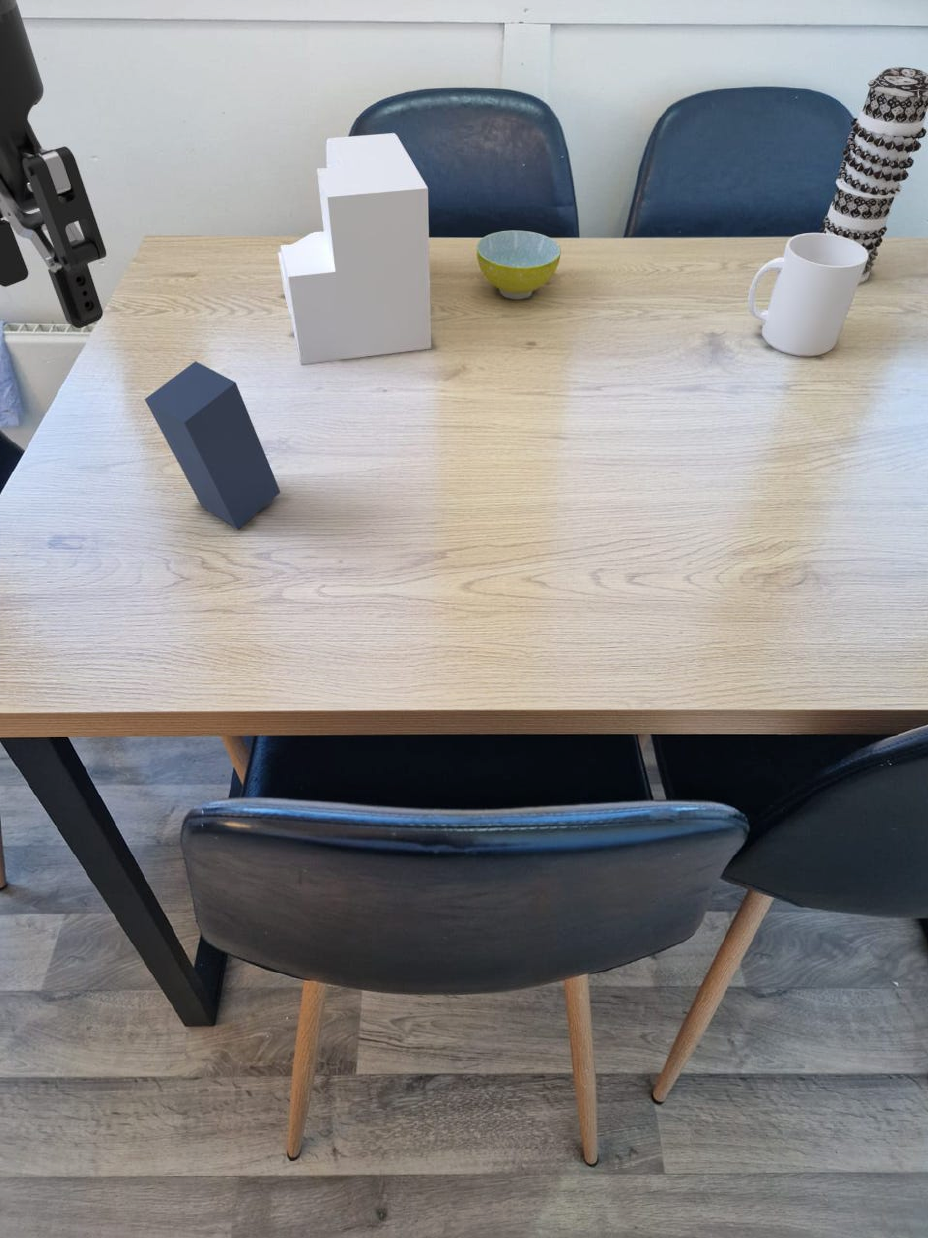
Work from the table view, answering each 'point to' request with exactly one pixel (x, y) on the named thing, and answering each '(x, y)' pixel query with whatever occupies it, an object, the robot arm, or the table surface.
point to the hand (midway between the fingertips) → (49, 301)
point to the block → (362, 256)
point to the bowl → (518, 261)
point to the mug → (810, 293)
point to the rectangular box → (214, 443)
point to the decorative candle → (878, 158)
